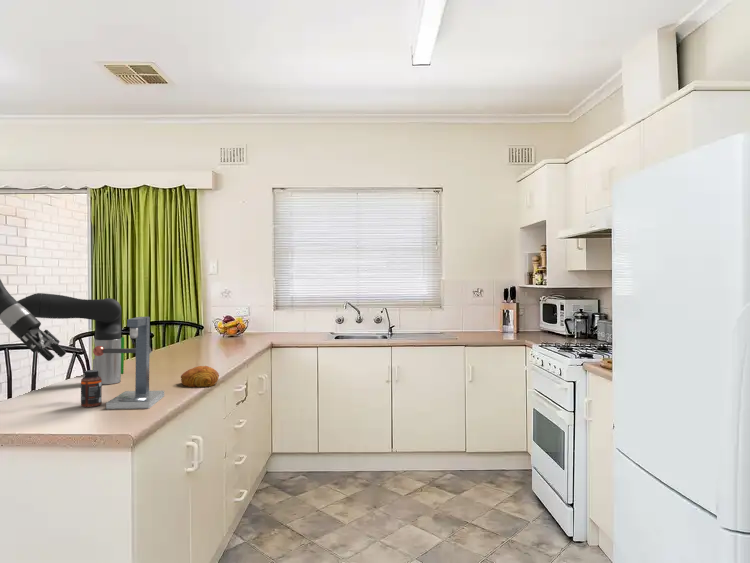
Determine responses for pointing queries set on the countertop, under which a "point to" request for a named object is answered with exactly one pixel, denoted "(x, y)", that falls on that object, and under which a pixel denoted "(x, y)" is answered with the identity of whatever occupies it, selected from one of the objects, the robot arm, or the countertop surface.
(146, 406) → the press
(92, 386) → the supplement bottle
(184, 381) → the croissant
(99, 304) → the robot arm
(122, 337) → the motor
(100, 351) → the lever
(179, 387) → the countertop surface
